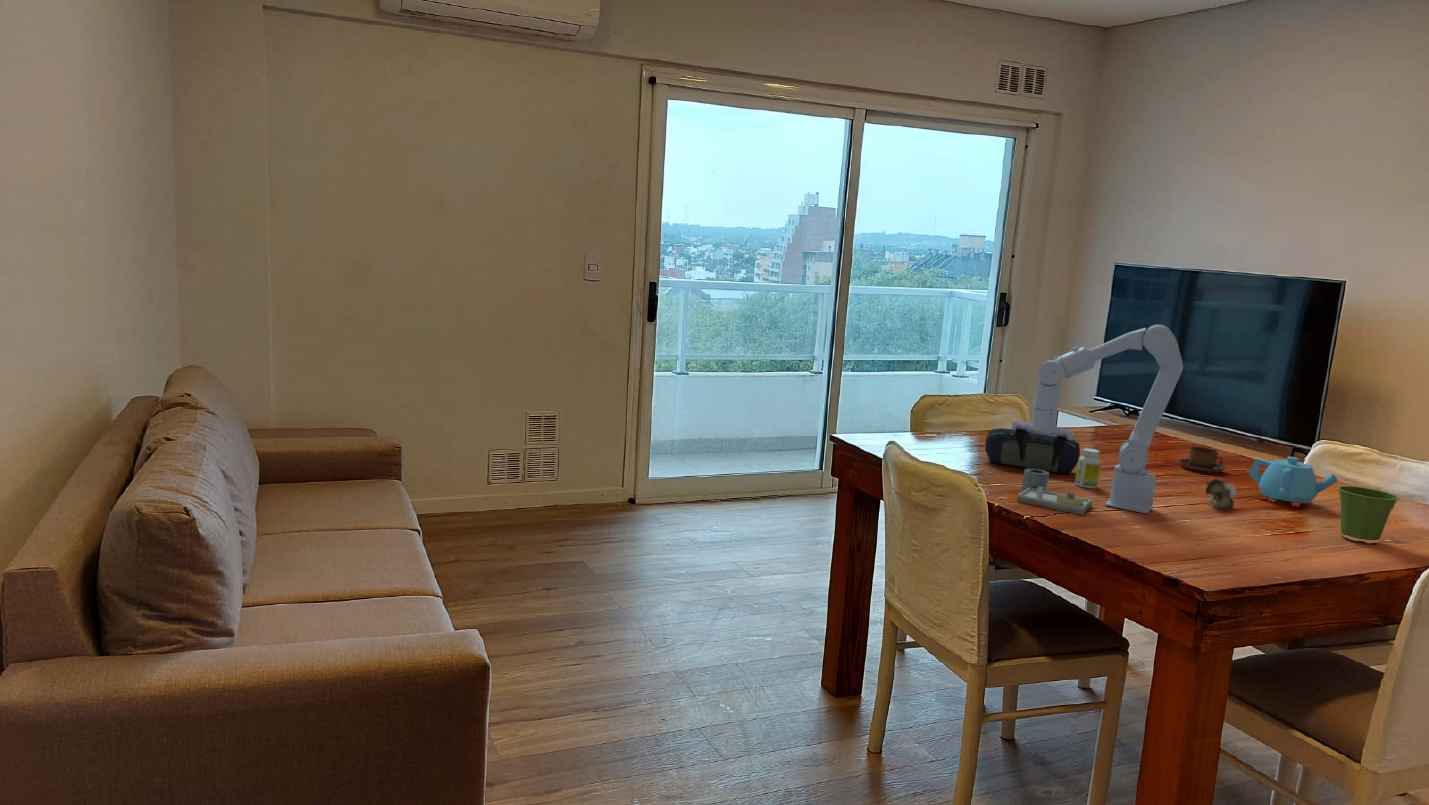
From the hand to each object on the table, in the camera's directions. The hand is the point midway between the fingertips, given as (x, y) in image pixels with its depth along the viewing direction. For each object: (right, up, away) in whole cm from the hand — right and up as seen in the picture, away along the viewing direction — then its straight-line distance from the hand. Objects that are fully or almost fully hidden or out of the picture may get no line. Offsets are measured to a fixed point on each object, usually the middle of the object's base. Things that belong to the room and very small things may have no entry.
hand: (1037, 462), depth 242 cm
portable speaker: (+7, -3, +28) cm, 29 cm away
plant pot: (+66, -17, -21) cm, 71 cm away
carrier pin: (-3, -9, -8) cm, 13 cm away
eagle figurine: (+45, -11, +1) cm, 46 cm away
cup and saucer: (+62, -5, +42) cm, 75 cm away
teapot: (+68, -11, +10) cm, 70 cm away
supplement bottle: (+16, -7, +11) cm, 21 cm away
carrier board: (+1, -9, -10) cm, 14 cm away
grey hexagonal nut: (0, -7, +1) cm, 7 cm away
